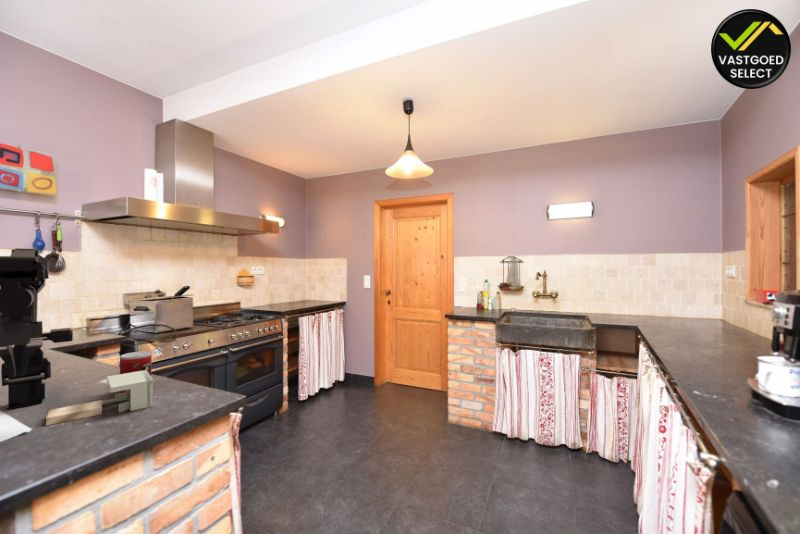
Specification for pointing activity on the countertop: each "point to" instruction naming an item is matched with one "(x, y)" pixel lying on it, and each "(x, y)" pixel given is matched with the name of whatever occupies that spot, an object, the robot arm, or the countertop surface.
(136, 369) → the canned food
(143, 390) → the pale green angular bracket
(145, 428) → the countertop surface
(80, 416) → the panel
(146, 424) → the countertop surface
